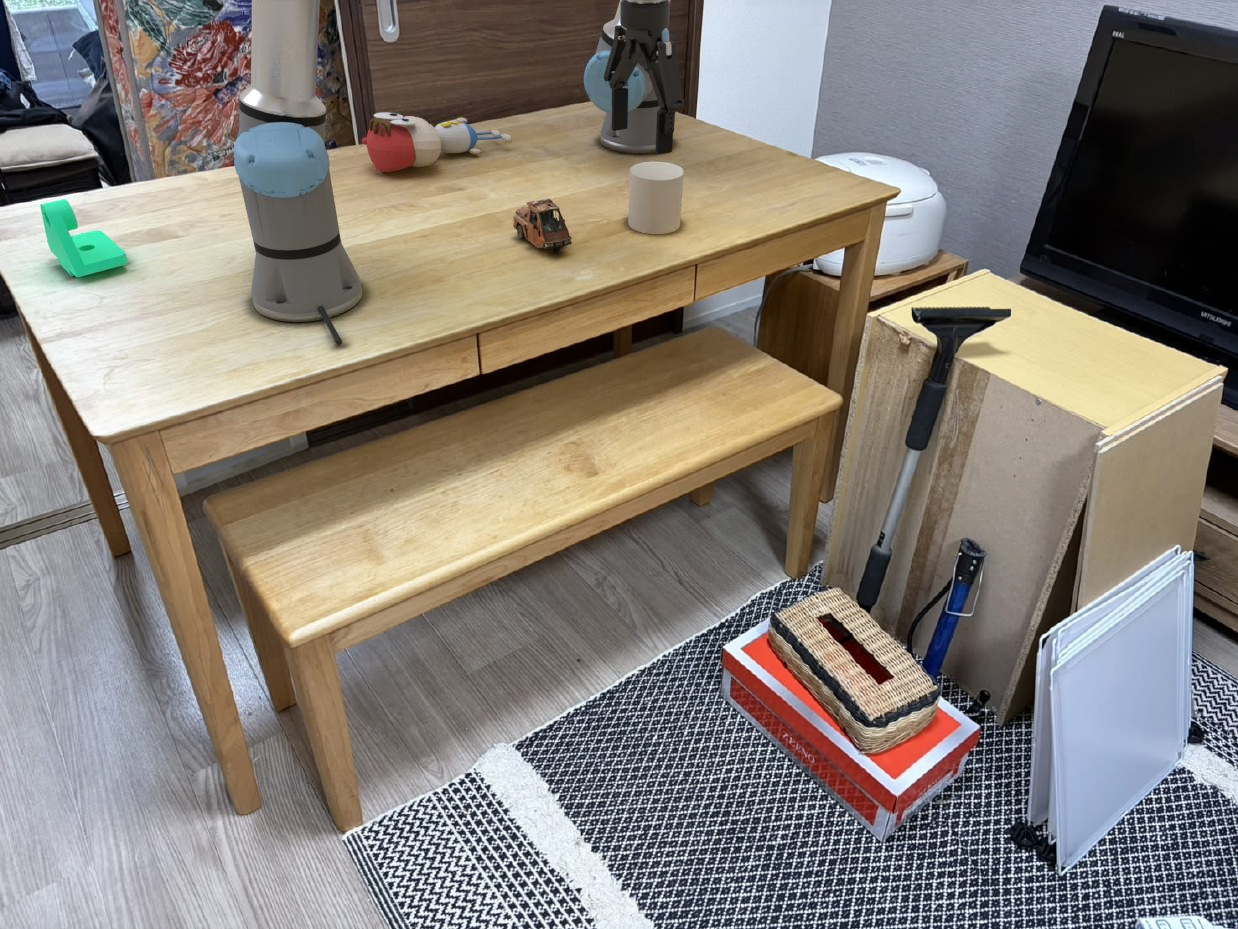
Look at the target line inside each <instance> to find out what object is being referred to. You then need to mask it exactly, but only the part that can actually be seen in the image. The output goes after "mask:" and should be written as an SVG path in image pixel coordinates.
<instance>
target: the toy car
mask: <svg viewBox="0 0 1238 929" xmlns="http://www.w3.org/2000/svg"><path fill="white" fill-rule="evenodd" d="M526 205H527V206H525V207H519V208H517V209H516V210H515V214H514V216H513V217H512V219H513V224H512V227H513V228H514V230H516V232H517V237H518V239H519V240H525V241H528V242H529V243H531V244H532V245H533V246H534V247H535V248H537V249H538V250H541V251H546V250H549V249H551V250H552V253H553V254H555V255H556V256H557V255H559V254H560V253H561V249H562V248H565V247H567V246H570V245H572V244H573V242H572V238H573V237H572V236H571V235H570V232H569V229H568V227H567V224H566V219H564V217H563V215H562V213H561V211H560V209H561V207H559V206H558V205H557V204H555V202H553V200H552V199H551V198H542V199H538V200H531V201H527V202H526ZM554 212H555V213H554ZM557 213H558V216H557Z"/></svg>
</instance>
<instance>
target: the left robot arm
mask: <svg viewBox="0 0 1238 929" xmlns="http://www.w3.org/2000/svg"><path fill="white" fill-rule="evenodd" d="M320 4H321V0H251V44H250V45H251V52H250V54H251V55H250V56H251V57H250V58H251V59H250V61H251V62H250V64H251V66H250V67H251V68H250V85H249V86H248V87H247V88H245V89H244V90H242V91H241V93H239V97H238V98H239V99H238V100H239V101H238V102H239V104H238V106H239V107H238V108H239V110H238V112H239V113H238V121H239V122H238V132H237V136H236V139H235V142H234V144H233V155H234V156H233V163H234V164H233V166H234V169H235V172H236V174H237V176H238V179H239V185H240V189H241V193H242V198H243V201H244V206H245V211H246V215H247V219H248V220H247V221H248V223H249V228H250V233H251V237H252V242H253V247H254V251H255V258H254V264H253V273H252V283H251V299H252V303H253V307H254V309H255V310H256V311H257V313H259V314H260V315H262V316H264V317H266V318H268V319H271V320H275V321H281V322H289V323H304V322H314V321H315V322H316V321H320V320H323V322H324V323H325V325H326V327H327V329H328V331H329V333H330V334H331V336H332V339H333V341H334V342H335V344H336V345H337V346H340V345H342V344H343V340H342V338H341V336H340V335H339V333H338V330H337V329H336V327H335V325H334V324H333V322H332V320H331V318H332V317H336V316H338V315H341V314H343V313H345V312H348V311H349V310H351V309H353V308H354V307H355V306H356V305H357V304H358V303H359V302H360V301H361V298H362V297H363V287H362V282H361V279H360V276H359V274H358V272H357V270H356V268H355V266H354V264H353V263H352V261H351V259H350V257H349V255H348V253H347V251H346V250H345V248H344V245H343V243H342V239H341V233H340V225H339V220H338V214H337V209H336V202H335V196H334V195H335V194H334V191H333V185H332V177H331V171H330V163H331V162H330V156H329V153H328V150H327V148H326V144H325V139H326V138H325V136H326V117H327V107H326V106H325V104H324V103H323V102H322V101H321V100H320V99H319V97H318V96H317V94H316V92H317V70H318V66H317V65H318V50H319V28H320V27H319V26H320V8H321V7H320V6H321V5H320ZM670 13H671V1H670V2H669V1H668V0H622V1H621V4H620V24H621V25H617V26H615V31H614V41H613V45H612V48H611V52H610V55H609V59H608V63H607V66H606V70H605V73H604V80H605V81H606V82H607V81H608V82H609V86H610V88H612V130H613V131H617V130H622V129H627V127H628V88H623V87H624V86H628V85H627V84H628V82H627V81H628V79H629V78H630V76H631V74H632V72H633V70H634V69H635V67H636V65H637V63H639V64H640V65H641V66H643V67H644V70H645V71H646V72H648V74H649V76H650V79H651V82H652V85H653V88H654V91H655V94H656V97H657V100H658V103H659V106H660V109H659V110H658V111H657V127H656V151H655V155H658V156H659V155H665V154H670V153H673V146H674V145H673V144H674V143H673V142H674V132H675V123H676V122H675V120H676V112H678V111H683V110H685V108H686V104H685V99H684V94H683V88H682V83H681V78H680V73H679V68H678V62H677V59H676V58H677V57H676V56H677V54H676V52H677V50H676V49H677V48H676V47H677V44H676V42H675V41H674V40H669V41H666V42H665V41H663V37H662V32H663V30H664V29H665V28H667V29H668V27H669V26H670V19H671V18H670V15H671V14H670ZM666 57H667V58H666ZM657 60H658V62H657V63H656V61H657ZM612 71H615V72H614V73H612Z"/></svg>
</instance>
